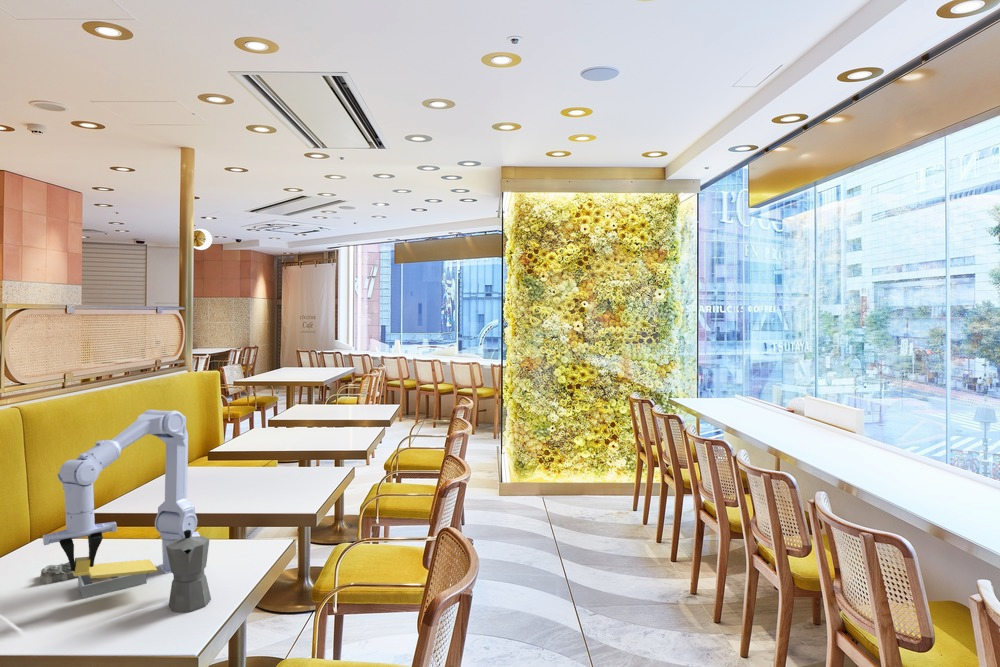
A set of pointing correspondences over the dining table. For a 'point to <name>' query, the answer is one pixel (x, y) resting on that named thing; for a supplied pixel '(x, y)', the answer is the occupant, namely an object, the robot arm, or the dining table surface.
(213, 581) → the dining table surface
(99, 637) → the dining table surface
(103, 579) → the walnut block
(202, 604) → the coffeepot
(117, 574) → the lid
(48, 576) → the egg carton
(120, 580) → the tub
